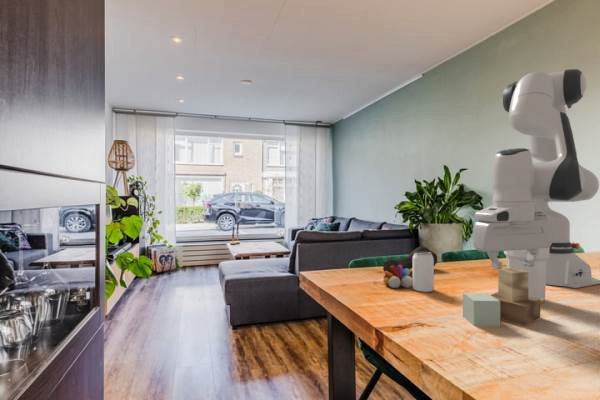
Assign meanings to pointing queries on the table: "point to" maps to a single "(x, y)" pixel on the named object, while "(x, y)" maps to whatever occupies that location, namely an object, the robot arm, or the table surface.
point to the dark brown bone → (407, 260)
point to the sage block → (481, 309)
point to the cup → (531, 270)
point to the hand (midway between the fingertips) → (513, 267)
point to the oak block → (513, 284)
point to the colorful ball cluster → (398, 277)
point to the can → (423, 272)
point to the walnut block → (519, 310)
